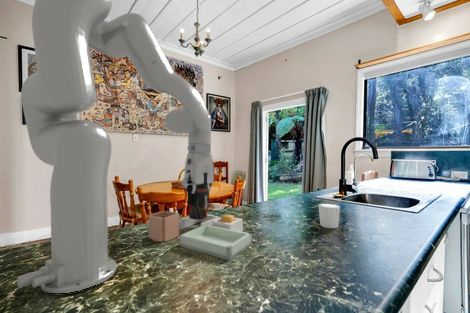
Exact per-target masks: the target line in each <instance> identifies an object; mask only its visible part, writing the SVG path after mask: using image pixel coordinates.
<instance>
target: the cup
mask: <svg viewBox="0 0 470 313" xmlns="http://www.w3.org/2000/svg"><path fill="white" fill-rule="evenodd" d="M177 237H180V213H179V212H176V211H175V212H174V211H170V210H166V211H165V210H163V211H159V212H155V213H150V214H149V215H148V239H151V241H153V242H158V243H159V242H160V243H161V242H162V243H163V242H164V243H165V242H169V241H172V240H174V239H176V238H177Z"/></svg>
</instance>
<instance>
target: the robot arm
mask: <svg viewBox="0 0 470 313" xmlns="http://www.w3.org/2000/svg"><path fill="white" fill-rule="evenodd" d="M112 4H113V0H35V1H34V5H33V10H32V16H31V28H32V29H31V30H32V32H31V33H32V39H33V44H34V47H33V48H34V52H35V59H36V71H35V72H34V73H31V74H30V75H28V77H27V78H26V79H25V80H24V82H23V83H22V87H21V93H20V95H21V96H20V97H21V104H22V105H21V106H22V110H23V115H24V119H25V125H26V129H27V134H28V139H29V142H30V146H31V149H32V151H33V153H34V154H35V156H36V157H37V158H38V159H39V160H40V161H41V162H42V163H45V164H46V165H49V166H53V168H52V175H51V179H50V187H49V190H50V191H49V204H50V243H51V245H50V250H51V251H50V252H51V253H50V256H51V258H50V259H47V260H45V262H44V266H41V267H39V270H36V271H33V272H27V273H25V274H22V275H19V276H17V278H16V284H17V288H18V289H21V288H23V287H26V286H29V285H31V286H32V288H36V287H39V286H40V289H41V290H43V291H42V292H44V291H45V292H44V293H46V292H49V293H68V292H74V291H78V290H82V289H86V288H89V287H91V286H94V285H96V286H98V285H101V284H102V283H104V282H106V281H107V280H109V279H110V278H111V277H112V276H114V274H115V272H116V271H117V262H116V261H115V260H114V259H113V258H110V257H109V229H108V228H109V227H108V226H109V224H108V222H109V221H108V220H109V219H108V218H109V217H108V216H109V215H108V210H109V209H108V176H109V166H110V162H111V157H112V141H111V138H110V136H109V134H108V132H107V130H106V129H105V128H104V127H102V126H101V125H99V124H98V123H96V122H93V121H90V120H85V119H78V114H79V113H83V112H85V111H88V110H89V109H91V108H92V107H93V106H94V104H95V103H96V99H97V92H96V84H95V79H94V78H95V77H94V73H93V72H94V71H93V66H92V60H91V55H90V49H92V50H93V51H97V52H98V53H100V54H103V55H105V56H108V57H111V58H114V59H124V58H126V57H128V59H129V61H130V62H131V64H132V65H133V67H134V68H135V70H136V72H137V74H138V75H139V76H140V79H141V80H142V82H143V83H144V84H145V86H146V87H148V88H151V89H153V90H155V91H159V92H161V93H164V94H167V95H169V96H170V97H173V98H174V99H175V100H177V101H178V102H179V103H180V104H181V105H182V106H183V107H182V108H176V109H172V110H170V111H168V112H167V113H166V115H165V116H164V124H165V126H166V128H167V129H168V131H170V132H172V133H174V134H187V135H188V136H187V137H188V141H187V142H188V144H187V154H186V159H185V165H184V177H183V179H182V180H181V182H180V184H181V185H182V187H183V189H184V191H185V192H186V194H187V203H186V204H187V206H189V205H191V206H196V193H195V190H196V186H197V185H200V184H203V183H204V175H203V173H208V174H207V175H208V176H207V183H208V194H207V204H208V203H209V202H210V191H211V187H212V185H213V183H214V181H215V178H214V174H215V173H214V161H213V155H212V154H211V153H212V152H211V150H212V147H211V146H212V145H211V144H212V142H211V141H212V140H211V139H212V117H211V115H210V114H209V110H208V109H207V106H206V104H205V102H204V100H203V97H202V95H201V94H200V93H199V91H198V90H197V89H196V88H195V87H194V86H193V85H192V84H191V83H190V82H188V81H187V80H186V79H185V78H183V76H181V75H179V74H178V73H176V71H174V69H173V68H172V66H171V64H170V63H169V60H168V59H167V57H166V55H165V52H164V51H163V49H162V46H160V43H159V41H158V39H157V37H156V36H155V35H156V34H154V32H153V30H152V28H151V26H150V24H149V23H148V21H147V20H146V19H145V18H144V17H143V15H141V14H138V13H136V12H135V13H134V12H128V13H123V14H122V15H120V16H118V17H114V18H113V19H112V20H110V21H107V20H106V18H107V17H108V16H109V15H110V12H111V10H112ZM191 182H192V183H191ZM191 186H193V187H192V188H191ZM100 283H101V284H100ZM97 284H98V285H97ZM94 287H95V286H94ZM91 288H92V287H91ZM89 289H90V288H89ZM86 290H87V289H86ZM82 291H83V290H82ZM49 293H48V294H49ZM74 293H75V292H74Z"/></svg>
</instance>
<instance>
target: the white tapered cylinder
mask: <svg viewBox="0 0 470 313" xmlns="http://www.w3.org/2000/svg"><path fill="white" fill-rule="evenodd" d="M318 212H319V215H318V216H319V222H320V226H321V227H323V228H326V229H337V228H339V220H340V212H341V206H340V205H338V204H335V203H319V204H318Z"/></svg>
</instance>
